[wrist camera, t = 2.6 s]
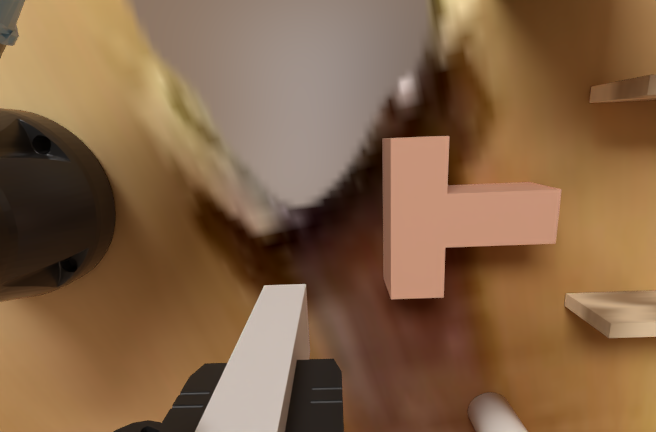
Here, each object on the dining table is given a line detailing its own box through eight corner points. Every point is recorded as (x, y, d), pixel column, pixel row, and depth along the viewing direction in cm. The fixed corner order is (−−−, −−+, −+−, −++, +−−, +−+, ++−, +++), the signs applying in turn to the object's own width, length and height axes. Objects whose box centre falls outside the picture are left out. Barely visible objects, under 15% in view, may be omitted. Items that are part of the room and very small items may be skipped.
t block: (383, 278, 30) (390, 299, 26) (382, 138, 27) (390, 138, 23) (521, 273, 30) (550, 294, 26) (534, 131, 27) (567, 130, 23)
